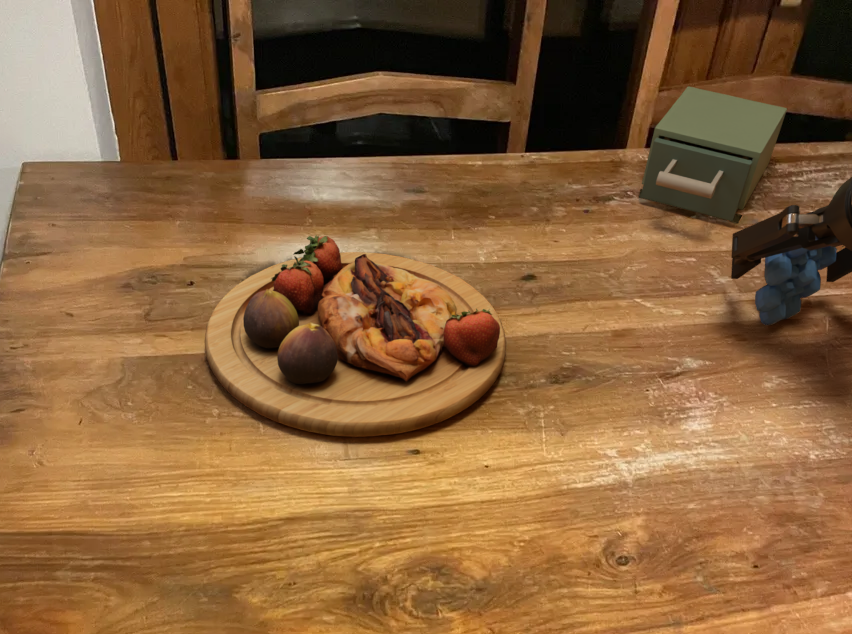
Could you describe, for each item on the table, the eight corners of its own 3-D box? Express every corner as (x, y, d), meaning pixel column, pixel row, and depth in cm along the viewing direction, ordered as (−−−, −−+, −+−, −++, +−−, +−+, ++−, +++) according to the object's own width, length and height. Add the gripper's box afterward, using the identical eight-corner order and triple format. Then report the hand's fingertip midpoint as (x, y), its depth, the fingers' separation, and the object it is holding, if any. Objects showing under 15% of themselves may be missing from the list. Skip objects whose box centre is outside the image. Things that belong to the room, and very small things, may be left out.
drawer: (720, 242, 117) (738, 185, 111) (625, 217, 120) (638, 160, 114) (758, 176, 129) (776, 121, 123) (671, 155, 132) (684, 101, 127)
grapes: (782, 288, 112) (814, 187, 103) (830, 311, 109) (868, 209, 100) (719, 318, 107) (747, 216, 99) (767, 344, 104) (800, 240, 95)
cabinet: (738, 223, 122) (761, 153, 115) (638, 197, 126) (654, 127, 119) (764, 176, 131) (787, 108, 124) (670, 153, 135) (688, 85, 128)
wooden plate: (556, 329, 104) (569, 261, 98) (399, 487, 87) (403, 416, 80) (325, 241, 115) (323, 174, 109) (143, 365, 97) (128, 294, 91)
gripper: (761, 239, 85) (682, 298, 107) (1008, 247, 85) (878, 305, 107) (766, 153, 84) (685, 231, 106) (1015, 163, 85) (883, 238, 107)
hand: (782, 268), depth 107 cm, fingers open, 10 cm apart
